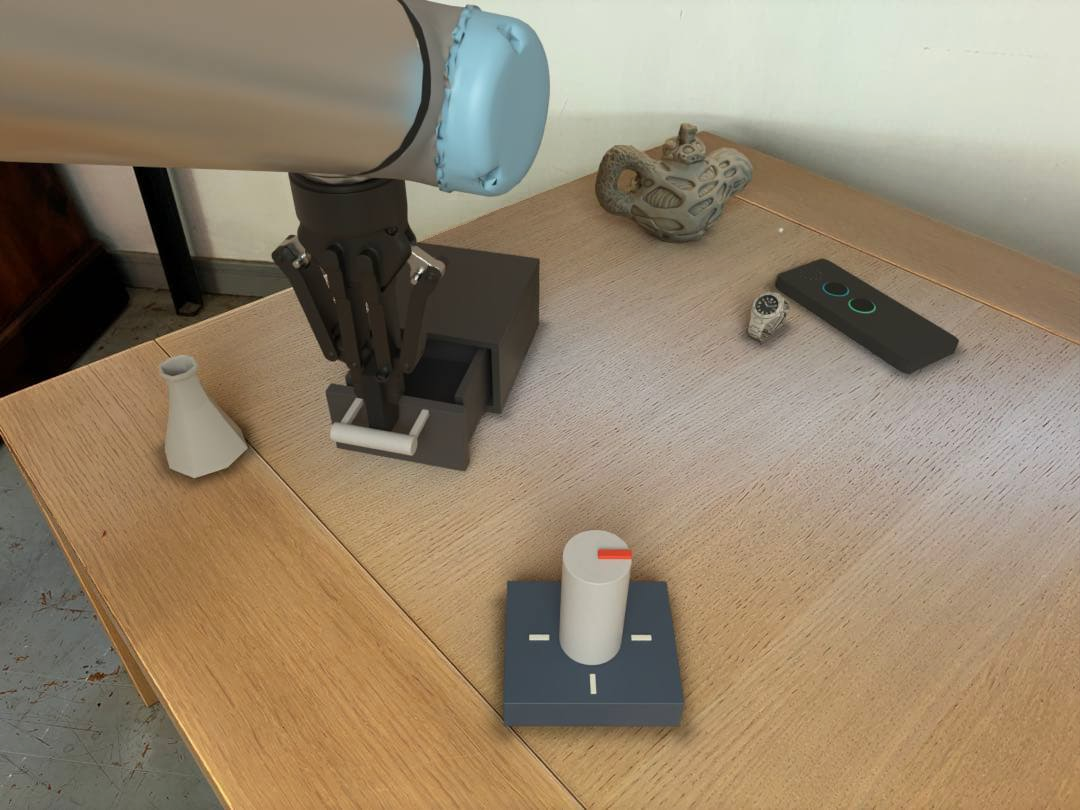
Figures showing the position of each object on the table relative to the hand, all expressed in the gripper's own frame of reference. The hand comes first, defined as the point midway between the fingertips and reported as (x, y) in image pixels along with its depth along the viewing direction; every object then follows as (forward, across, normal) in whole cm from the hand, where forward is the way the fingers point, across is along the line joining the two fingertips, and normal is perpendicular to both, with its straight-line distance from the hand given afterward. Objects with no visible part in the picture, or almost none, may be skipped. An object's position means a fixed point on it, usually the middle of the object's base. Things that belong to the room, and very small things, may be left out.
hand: (385, 426), depth 70 cm
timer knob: (+4, -20, +14) cm, 25 cm away
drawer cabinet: (+7, 0, -19) cm, 20 cm away
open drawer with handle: (+6, 0, -7) cm, 9 cm away
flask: (+7, +18, 0) cm, 19 cm away
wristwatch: (+7, -32, -32) cm, 45 cm away
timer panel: (+7, -20, +14) cm, 25 cm away
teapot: (+7, -18, -51) cm, 55 cm away
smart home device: (+7, -42, -38) cm, 57 cm away
